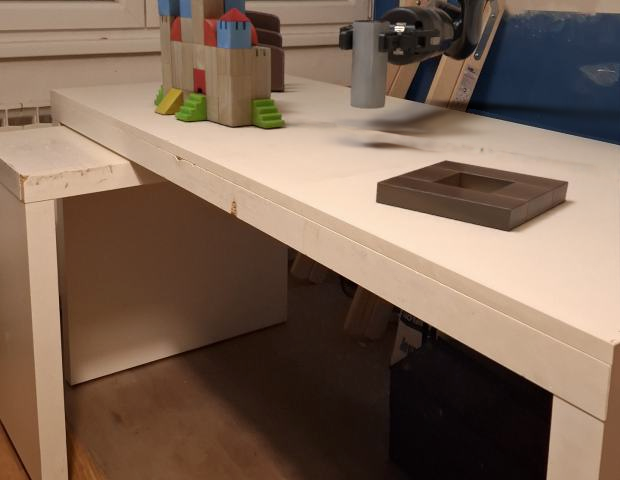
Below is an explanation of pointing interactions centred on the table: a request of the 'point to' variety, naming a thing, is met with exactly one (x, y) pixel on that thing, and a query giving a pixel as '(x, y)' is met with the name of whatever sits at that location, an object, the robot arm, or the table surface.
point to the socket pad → (473, 193)
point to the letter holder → (270, 44)
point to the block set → (214, 65)
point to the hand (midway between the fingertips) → (362, 41)
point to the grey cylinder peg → (368, 65)
